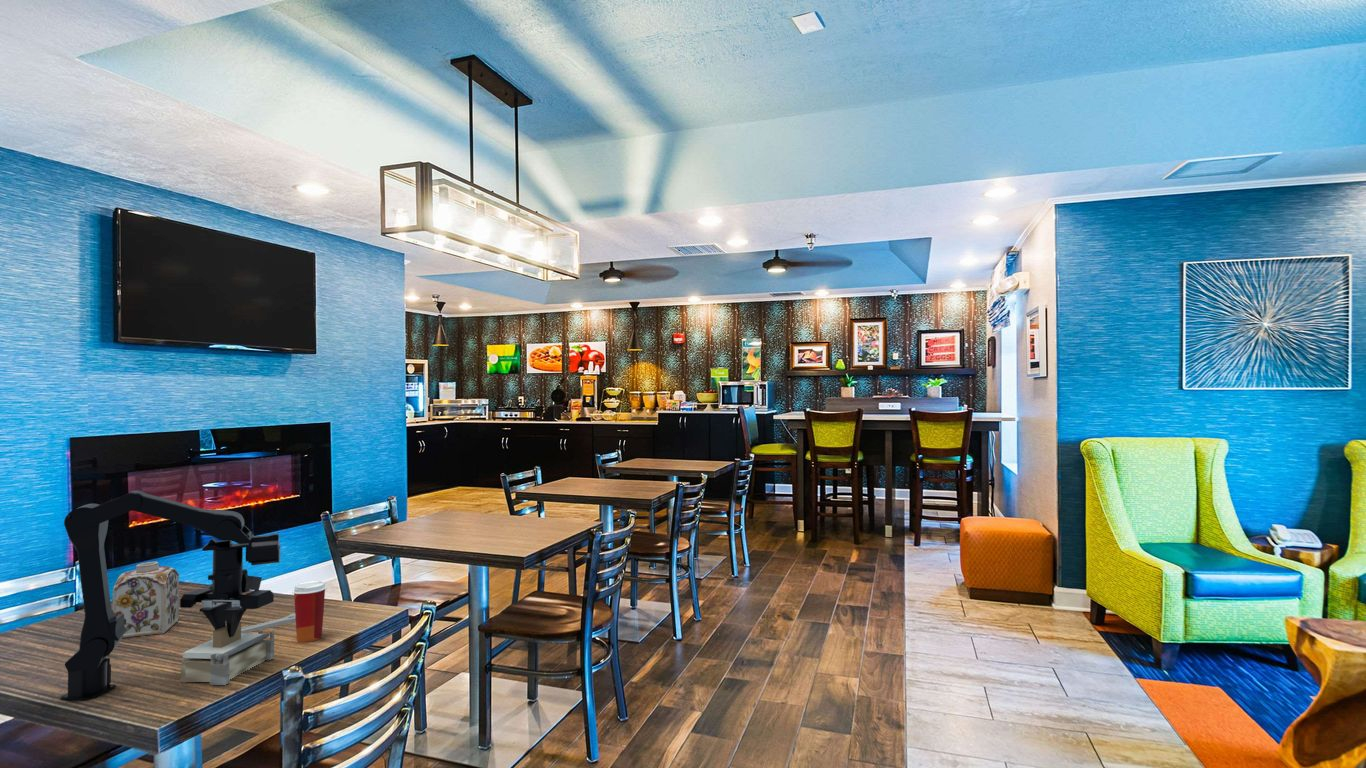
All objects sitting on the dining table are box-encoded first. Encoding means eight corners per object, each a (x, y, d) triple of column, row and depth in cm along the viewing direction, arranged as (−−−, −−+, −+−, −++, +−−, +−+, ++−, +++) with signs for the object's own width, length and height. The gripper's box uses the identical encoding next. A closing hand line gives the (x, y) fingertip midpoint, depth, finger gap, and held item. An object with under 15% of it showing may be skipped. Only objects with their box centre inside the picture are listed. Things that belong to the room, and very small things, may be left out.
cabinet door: (229, 636, 160) (230, 616, 160) (269, 637, 159) (269, 617, 159) (178, 660, 145) (178, 637, 145) (221, 661, 144) (221, 638, 144)
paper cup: (318, 631, 178) (319, 578, 178) (331, 637, 173) (331, 583, 173) (286, 639, 172) (287, 585, 172) (298, 646, 167) (299, 590, 167)
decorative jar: (164, 634, 177) (165, 566, 177) (110, 640, 172) (111, 570, 173) (179, 620, 188) (180, 556, 188) (129, 626, 184) (129, 560, 184)
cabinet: (229, 657, 160) (230, 630, 160) (273, 658, 159) (274, 631, 159) (176, 684, 145) (177, 654, 145) (225, 685, 144) (225, 655, 144)
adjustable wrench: (212, 644, 171) (212, 637, 171) (207, 638, 175) (207, 631, 175) (318, 619, 189) (318, 613, 189) (311, 614, 193) (311, 608, 193)
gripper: (289, 560, 160) (289, 625, 159) (217, 559, 161) (216, 624, 161) (256, 571, 149) (255, 642, 148) (178, 570, 150) (177, 640, 150)
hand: (226, 636), depth 152 cm, fingers closed on cabinet door
